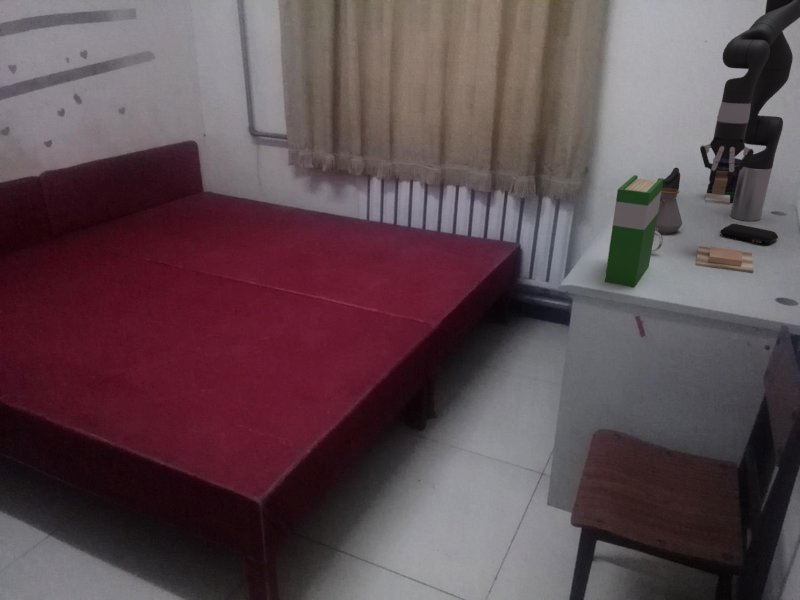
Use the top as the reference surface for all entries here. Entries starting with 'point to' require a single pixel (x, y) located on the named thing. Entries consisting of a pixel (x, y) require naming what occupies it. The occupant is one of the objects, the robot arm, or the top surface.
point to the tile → (725, 256)
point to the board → (704, 261)
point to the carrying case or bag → (749, 234)
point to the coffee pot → (668, 212)
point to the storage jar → (731, 188)
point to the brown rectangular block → (719, 189)
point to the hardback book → (633, 230)
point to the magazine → (672, 180)
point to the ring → (660, 241)
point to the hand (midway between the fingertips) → (719, 183)
